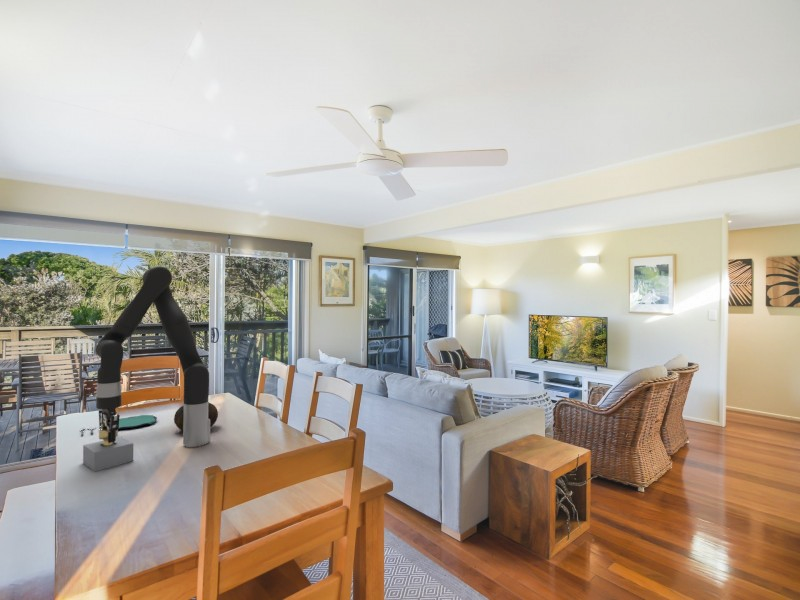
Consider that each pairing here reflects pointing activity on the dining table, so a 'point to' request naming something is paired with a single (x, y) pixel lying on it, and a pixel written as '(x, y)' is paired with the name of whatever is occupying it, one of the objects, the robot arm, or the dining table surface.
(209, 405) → the dark brown ellipsoid
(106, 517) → the dining table surface
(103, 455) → the slate block
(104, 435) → the brass knob
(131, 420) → the cutlery set
